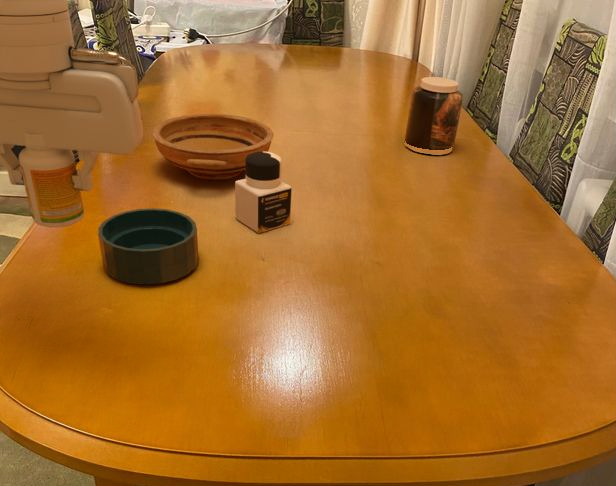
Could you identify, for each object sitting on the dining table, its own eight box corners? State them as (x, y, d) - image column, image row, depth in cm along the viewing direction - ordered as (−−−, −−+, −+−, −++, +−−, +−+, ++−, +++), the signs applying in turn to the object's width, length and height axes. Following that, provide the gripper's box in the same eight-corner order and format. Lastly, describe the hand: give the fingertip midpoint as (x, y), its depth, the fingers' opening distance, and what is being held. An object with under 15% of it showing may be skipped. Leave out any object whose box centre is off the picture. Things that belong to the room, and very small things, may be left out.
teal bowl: (90, 283, 88) (83, 246, 85) (121, 239, 100) (116, 205, 96) (187, 291, 88) (184, 254, 84) (206, 246, 99) (204, 212, 96)
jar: (399, 151, 142) (409, 83, 133) (408, 136, 151) (418, 72, 142) (449, 159, 140) (462, 90, 131) (456, 144, 149) (469, 79, 140)
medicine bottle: (258, 234, 104) (258, 165, 97) (234, 219, 108) (233, 152, 101) (290, 224, 108) (293, 157, 100) (267, 210, 112) (268, 145, 105)
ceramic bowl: (169, 143, 138) (166, 106, 133) (275, 149, 139) (276, 113, 134) (141, 194, 114) (136, 152, 109) (269, 201, 115) (270, 159, 110)
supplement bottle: (95, 216, 67) (81, 128, 62) (56, 233, 64) (37, 141, 58) (61, 203, 70) (44, 116, 64) (21, 219, 66) (-1, 129, 60)
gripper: (144, 46, 58) (157, 183, 67) (-64, 28, 59) (-26, 167, 67) (123, 60, 53) (140, 207, 62) (-104, 40, 54) (-57, 189, 62)
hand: (52, 186), depth 64 cm, fingers closed on supplement bottle, 5 cm apart
